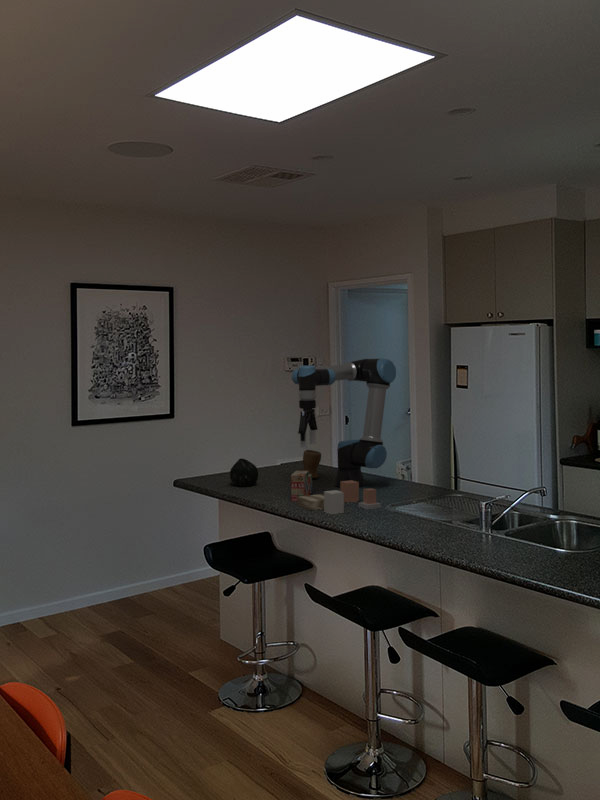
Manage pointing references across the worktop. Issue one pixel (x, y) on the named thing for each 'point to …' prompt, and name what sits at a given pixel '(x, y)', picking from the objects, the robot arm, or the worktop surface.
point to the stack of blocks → (300, 484)
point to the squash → (243, 473)
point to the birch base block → (311, 502)
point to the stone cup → (311, 462)
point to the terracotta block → (350, 490)
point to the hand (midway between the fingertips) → (308, 446)
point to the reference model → (369, 499)
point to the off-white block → (333, 502)
